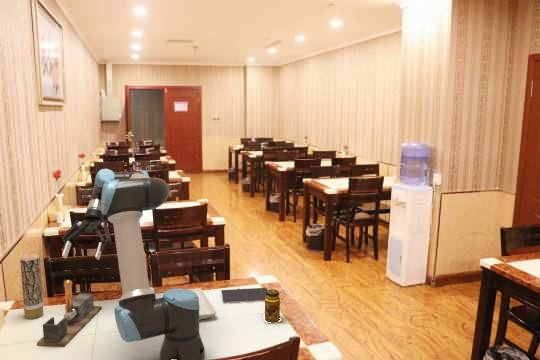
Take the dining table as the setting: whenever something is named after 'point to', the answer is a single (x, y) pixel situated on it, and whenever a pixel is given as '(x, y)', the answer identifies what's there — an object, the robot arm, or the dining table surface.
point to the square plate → (205, 306)
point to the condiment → (272, 306)
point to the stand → (69, 323)
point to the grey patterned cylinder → (31, 285)
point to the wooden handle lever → (69, 301)
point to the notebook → (244, 295)
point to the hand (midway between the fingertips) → (80, 257)
